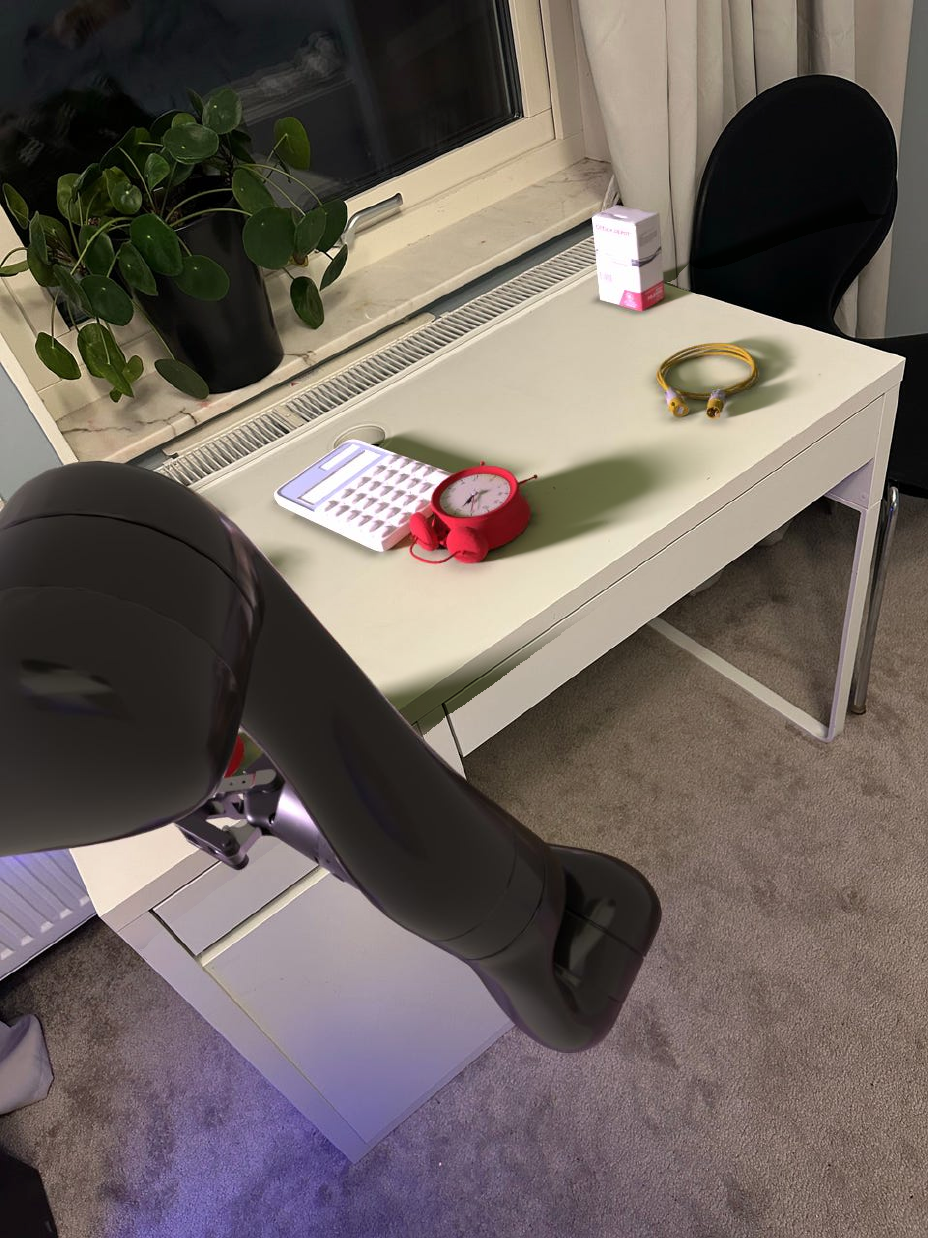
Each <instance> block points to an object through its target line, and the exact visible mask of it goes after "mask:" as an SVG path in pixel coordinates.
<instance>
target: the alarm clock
mask: <svg viewBox="0 0 928 1238" xmlns="http://www.w3.org/2000/svg"><path fill="white" fill-rule="evenodd" d="M534 479H535V480H536V479H538V474H533V476H531V477H528V478H526V479H523V480H520V481H518V480H517V478H516V477H515V475H514V474H513V473H512V472H511V471H509V470H507V469H506V468H503V467H498V466H495V465H485V461H482V460H481V461H480V465H479V466H473V467H468V468H465V469H462V470H459V471H457V472H454V473H452V475H451V476H449V477H447V478H446V479H444V480H443V481H442V482H441V483H440V484H439V485H438V486H437V487H436V488H435V490H434V492H433V494H432V497H431V508H432V511H433V520H432V522H430V521H429V518H428V519H427V518H426V517H425V516H424V515H423V514H422V513H420V512H416V513H414V514H413V515H412V516H411V517H410V520H409V525H410V529H411V532H410V533H411V534H412V535H411V536H410V540H413V541H412V542H411V545H410V546H409V554H410V556H412V558H414V559H415V560H418V561H420V562H423V563H426V564H430V565H431V564H432V565H436V564H442V563H446V562H447V561H450V560H451V559H455V560H456V561H459V562H461V563H464V564H477V563H479V562H481V561H483V560H484V559H485V558H486V556H487V554H488V553H489V551H490V550H493V549H496V548H499V547H501V546H504V545H505V544H508V543H509V542H511V541H513V540H514V539H516V538H517V537H518V536H519V535H521V533H523V531H524V530H525V529H526V527H527V526H528V523H529V521H530V518H531V509H530V504H529V503H528V500H527V499H526V498H525V497H524V496H523V495H522V494H521V489H520V488H521V487H520V486H521V485H523V484H525V483H527V482H530V481H531V480H534ZM416 543H417V544H418V545H419V546H420V547H421V548H422V549H424V550H425V551H427V552H433V551H436V550H438V549H439V546H442V548H445V549H447V551H448V552H449V556H448V557H446V558H444V559H441V560H428V559H424V558H421V557H420V556H417V555H416V554H414V552H413V548H414V546H415V544H416Z"/></svg>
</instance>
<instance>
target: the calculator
mask: <svg viewBox="0 0 928 1238" xmlns="http://www.w3.org/2000/svg"><path fill="white" fill-rule="evenodd" d="M452 474H453V473H452V472H450V471H446V470H444V469H441V468H438V467H436V466H432V465H430V464H427V463H424V462H422V461H419V460H417V459H414V458H410V457H407V456H405V455H402V454H399V453H396V452H393V451H392V450H391V451H390V450H387V449H385V448H382V447H379V446H377V445H374V444H371V443H369V442H365V441H363V440H359V439H354V438H353V439H349V440H346V441H345V442H342V443H341V444H339V445H338V446H337V447H335V448H334V449H332V450H330V451H329V452H328V453H327V454H325V455H324V456H322V457H321V458H319V459H318V460H317V461H315V462H314V463H312V464H311V465H310V466H308V467H307V468H305V469H304V470H302V471H301V472H299V473H298V474H297V475H295V476H294V477H292V478H291V479H289V480H288V481H286V482H285V483H283V484H282V485H281V486H280V487H278V488H277V489H276V490H275V492H274V500H275V501H276V503H277V504H278V505H280V506H281V507H283V508H284V509H287V510H289V511H291V512H293V513H295V514H297V515H299V516H301V517H303V518H306V519H308V520H310V521H311V522H313V523H316V524H319V525H320V526H323V527H324V528H327V529H329V530H331V531H333V532H335V533H337V534H340V535H342V536H344V537H346V538H348V539H350V540H352V541H354V542H357V543H359V544H360V545H363V546H365V547H367V548H369V549H372V550H374V551H377V552H386V551H388V550H390V549H392V548H393V547H394V546H395V545H397V544H398V543H399V542H401V541H402V539H404V538H406V537H407V536H408V535H409V534H411V533H412V532H411V529H410V525H409V520H410V517H411V516H412V515H413V514H414V513H416V512H420V513H422V514H423V515H424V516H425V517H426V518H427V519H428V520H429V518H431V516H434V514H433V511H432V508H431V497H432V494H433V492H434V490H435V488H436V487H437V486H438V485H439V484H440V483H441V482H442V481H443V480H444V479H446V478H447V477H449V476H451V475H452Z"/></svg>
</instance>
